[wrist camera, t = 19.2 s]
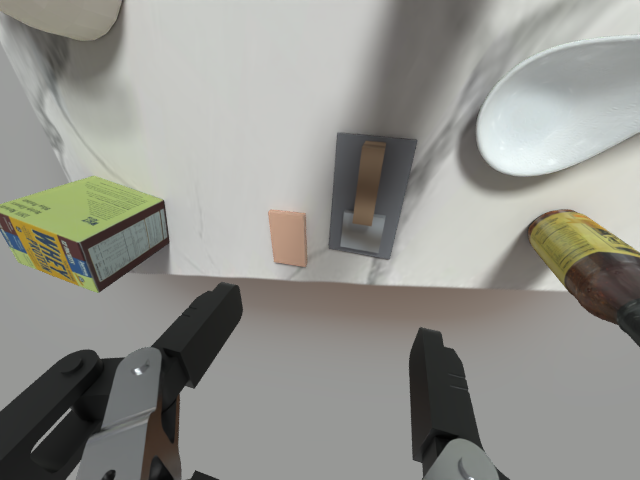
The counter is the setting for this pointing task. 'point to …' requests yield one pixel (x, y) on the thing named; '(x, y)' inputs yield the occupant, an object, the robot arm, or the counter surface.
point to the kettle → (65, 16)
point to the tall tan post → (365, 203)
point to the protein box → (85, 231)
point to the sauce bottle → (591, 266)
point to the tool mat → (389, 188)
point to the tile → (288, 237)
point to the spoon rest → (562, 106)
